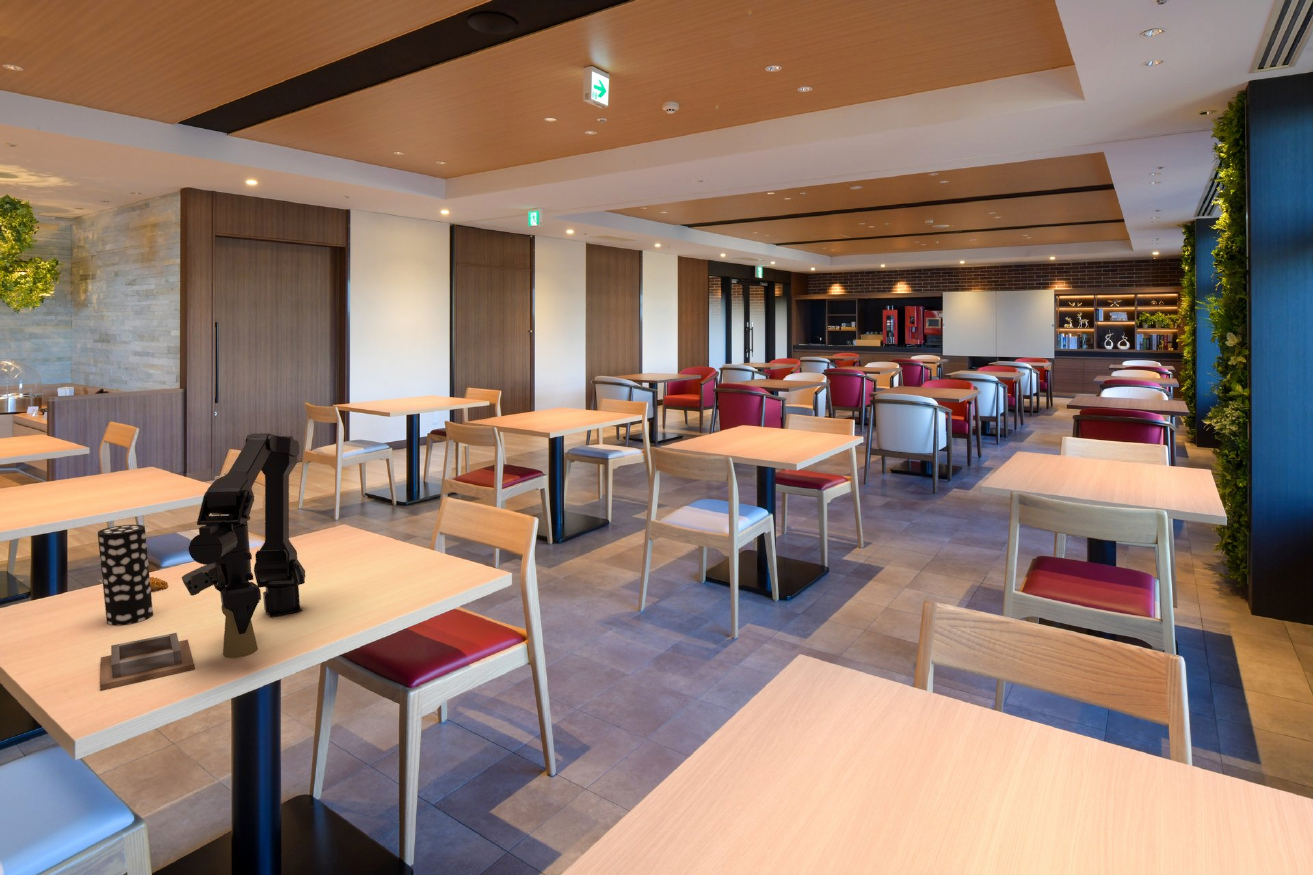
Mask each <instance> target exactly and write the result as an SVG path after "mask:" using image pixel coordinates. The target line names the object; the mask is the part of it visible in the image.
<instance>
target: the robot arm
mask: <svg viewBox="0 0 1313 875" xmlns="http://www.w3.org/2000/svg"><path fill="white" fill-rule="evenodd" d="M244 441H245V443H244V446H243V447H242V448H241V450H240V452H239V454H238V455H237V457H236V459H235V460H234V462H233V464H232V466H231V468H230V469H229V470H228V472H227V473H226V474H225V475H223V476H220V477H219V478H217V479H215V480H213V482H212V484H210V486H209V487H208V488H207V490H206V491H205V492H204V494H203V497H202V502H201V506H200V509H199V513H198V516H197V517H198V518H197V521H196V525H197V526H200V527H198V532H199V534H196V536H194V537H193V538H192V539H191V540H190V543H189V545H188V547H187V548H188V554H189V556H190V558H191V559H192V560H193V561H194V562H196V563H198V564H201V565H202V566H200V567H198V568H195V569H194V570H191V571H189V572H187V573H186V574H185V573H184V574H183V576H181V579H182V582H183V585H184V586H185V588H186V589H187V591H188V593H189V595H190V596H192V597H193V596H196V595H199V594H200V593H201V592H202V591H204V590H206V589H208V588H210V587H212V586H213V587H214V589H215V590H217V591H218V592H219V594H220V601H221V606H222V605H223V607H224V608H225V609H228V610H230V611H232V614H233V617H234V620H235V623H236V627H237V630H238V633H239V634H245V633H246V630H247V628H248V626H249V623H250V621H252V617H253V616H254V612H255V610H256V609H257V607H258V604H259V603H260V601H261V600H263V610H264V612H265V613H267V614H268V617H271V618H273V617H277V616H284V615H287V614H288V615H290V614H294V613H298V612H302V611H303V609H302V607H301V602H300V590H299V589H300V588H299V586H300V585H304V584H305V583H306V580H305V579H306V569H305V568H304V567H303V565H302V564H301V563H300V561H299V559H298V552H297V549H296V548H295V547H294V545H293V543H292V542H291V541H290V475H291V473H292V472H293V470H294V469H295V467H296V465H297V464H298V463H297V462H298V456H299V454H300V442H299V441H298V440H296V439H295V438H294V437H293V436H292V435H276V434H272V433H269V432H268V433H257V432H256V433H251V434H247V435H246V437H245V440H244ZM261 472H262V473H263V475H264V543H263V544H262V545H261V547H260V549H258V550H257V551H256V553H255V555H254V556H255V562H254V566H253V573H254V574H253V573H252V566H251V565H252V563H251V562H252V560H253V558H252V557H253V556H252V555H253V554H252V552H250V551H251V550H250V537H249V524H248V521H250V520H251V516H250V514H251V511H252V508H253V505H254V503H255V495H254V492H253V489H252V488H253V486H254V483H255V482H256V480H257V479H258V476H259V475H260V473H261ZM254 578H255V581H256V583H255V582H253V581H254ZM261 588H265V591H263V592H262V591H261ZM261 592H262V595H261ZM262 596H263V597H262ZM262 598H263V599H262Z"/></svg>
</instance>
